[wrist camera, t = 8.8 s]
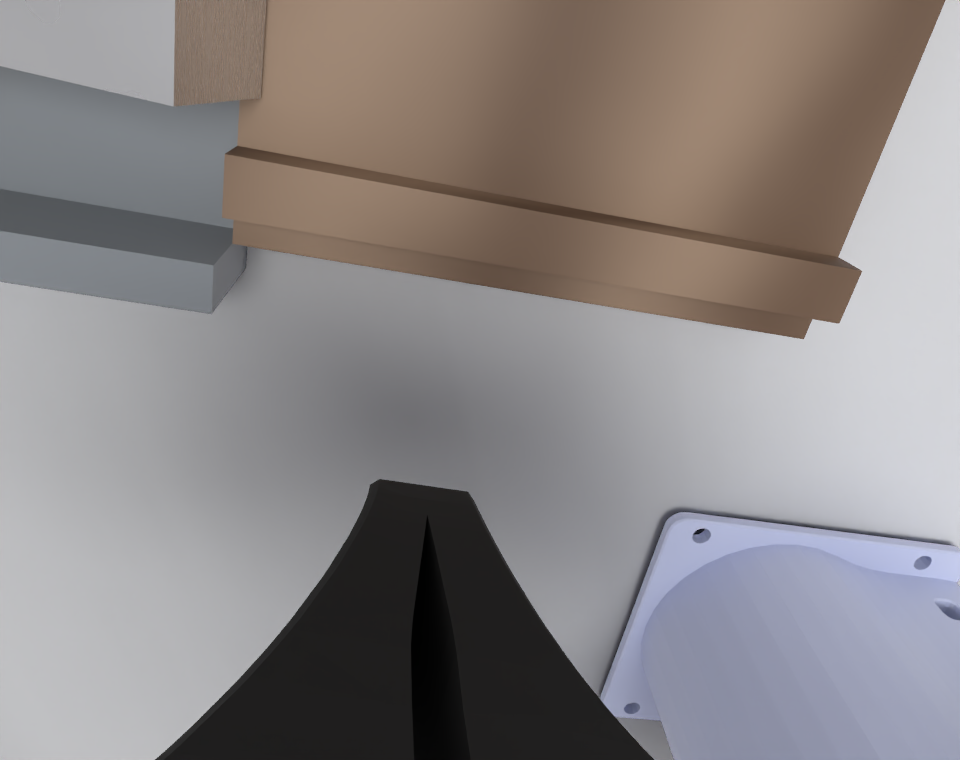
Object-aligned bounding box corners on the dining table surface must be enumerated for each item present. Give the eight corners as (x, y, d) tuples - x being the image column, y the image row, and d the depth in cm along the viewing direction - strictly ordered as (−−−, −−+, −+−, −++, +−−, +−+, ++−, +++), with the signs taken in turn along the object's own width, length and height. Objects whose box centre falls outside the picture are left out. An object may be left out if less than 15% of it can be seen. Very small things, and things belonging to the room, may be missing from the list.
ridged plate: (963, -160, 14) (1063, -194, 12) (776, 315, 18) (824, 356, 16) (282, -352, 12) (250, -436, 10) (248, 225, 17) (219, 258, 14)
